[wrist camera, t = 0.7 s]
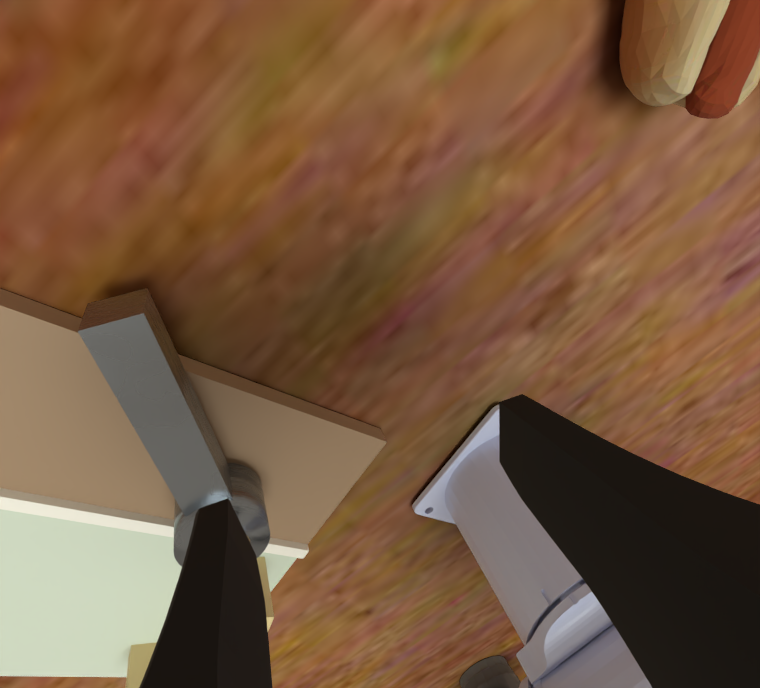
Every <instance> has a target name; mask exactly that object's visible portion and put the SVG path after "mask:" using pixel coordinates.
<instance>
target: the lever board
mask: <svg viewBox="0 0 760 688" xmlns="http://www.w3.org/2000/svg"><path fill="white" fill-rule="evenodd" d="M81 321H82V318H79V317H76V316H74V315H71V314H68V313H65V312H63V311H60V310H57V309H55V308H52V307H49V306H47V305H44V304H41V303H38V302H36V301H33V300H30V299H28V298H25V297H22V296H19V295H17V294H14V293H11V292H9V291H6V290H3V289H0V676H56V677H127V679H126V688H139V687H140V685H141V682H142V680H143V677H144V675H145V672H146V670H147V667H148V664H149V662H150V659H151V656H152V654H153V651H154V648H155V646H156V643H157V641H158V638H159V635H160V633H161V630H162V627H163V624H164V622H165V619H166V616H167V613H168V610H169V607H170V604H171V601H172V597H173V594H174V591H175V588H176V585H177V582H178V579H179V576H180V572H181V569H182V566H180V565H179V564H178V562H177V561H176V559H175V557H174V504H175V498H174V496H173V495H172V493H171V491H170V489H169V488H168V486H167V484H166V483H165V481H164V479H163V477H162V476H161V474H160V472H159V470H158V469H157V467H156V465H155V464H154V462H153V460H152V458H151V457H150V455H149V453H148V451H147V450H146V448H145V446H144V445H143V443H142V441H141V439H140V438H139V436H138V434H137V433H136V431H135V429H134V427H133V426H132V424H131V422H130V420H129V419H128V417H127V415H126V414H125V412H124V410H123V408H122V407H121V405H120V403H119V402H118V400H117V398H116V396H115V395H114V393H113V391H112V389H111V388H110V386H109V384H108V383H107V381H106V379H105V377H104V376H103V374H102V372H101V371H100V369H99V367H98V365H97V364H96V362H95V360H94V358H93V357H92V355H91V353H90V352H89V350H88V348H87V346H86V345H85V343H84V341H83V340H82V338H81V336H80V334H79V333H78V329H79V326H80V323H81ZM178 356H179V358H180V360H181V362H182V364H183V367H184V369H185V371H186V373H187V375H188V378H189V380H190V382H191V384H192V386H193V389H194V391H195V393H196V395H197V397H198V399H199V402H200V404H201V406H202V408H203V410H204V413H205V415H206V417H207V419H208V421H209V424H210V426H211V428H212V430H213V432H214V434H215V437H216V439H217V441H218V443H219V445H220V448H221V450H222V452H223V454H224V456H225V458H226V461H227V463H236V464H241V465H244V466H246V467H248V468H250V469H252V470H253V471H254V472H255V473H256V474H257V475H258V476H259V478H260V480H261V483H262V488H263V494H264V500H265V506H266V511H267V517H268V523H269V528H270V540H269V543H268V545H267V547H266V549H265V550H264V552H263V553H262V554H261V555H260V556H259V557H258V558H257V563H258V568H259V573H260V578H261V583H262V588H263V593H264V599H265V607H266V618H267V630H269V628H270V626H271V623H272V621H273V618H274V613H273V606H272V600H271V594H270V592H271V591H272V590H273V588H274V587H275V586H276V584H277V583H278V582H279V581H280V579H281V578H282V577H283V575H284V574H285V573H286V572H287V570H288V569H289V568H290V566H291V565H292V564H293V563H294V561H295V560H296V559H297V558H301V559H303V558H304V557H305V556H306V554H307V553H308V552H309V548H308V543H309V542H310V541H311V539H312V538H313V537H314V535H315V534H316V533H317V532H318V530H319V529H320V528H321V526H322V525H323V524H324V523H325V521H326V520H327V519H328V517H329V516H330V515H331V514H332V512H333V511H334V510H335V508H336V507H337V506H338V505H339V503H340V502H341V501H342V499H343V498H344V497H345V496H346V494H347V493H348V492H349V490H350V489H351V488H352V486H353V485H354V484H355V483H356V481H357V480H358V479H359V477H360V476H361V475H362V474H363V472H364V471H365V470H366V468H367V467H368V466H369V465H370V463H371V462H372V461H373V459H374V458H375V457H376V456H377V454H378V453H379V452H380V450H381V449H382V448H383V447H384V445H385V444H386V443H387V441H386V439H385V437H384V435H383V433H382V431H381V429H380V428H377V427H374V426H372V425H369V424H366V423H364V422H361V421H358V420H356V419H353V418H350V417H347V416H345V415H342V414H339V413H337V412H334V411H331V410H328V409H326V408H323V407H320V406H318V405H315V404H312V403H309V402H307V401H304V400H301V399H299V398H296V397H293V396H290V395H288V394H285V393H282V392H280V391H277V390H274V389H271V388H269V387H266V386H263V385H261V384H258V383H255V382H253V381H250V380H247V379H244V378H242V377H239V376H236V375H234V374H231V373H228V372H225V371H223V370H220V369H217V368H215V367H212V366H209V365H206V364H204V363H201V362H198V361H196V360H193V359H190V358H187V357H185V356H182V355H179V354H178ZM247 537H248V536H247ZM248 539H249V537H248ZM249 541H250V539H249Z"/></svg>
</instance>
